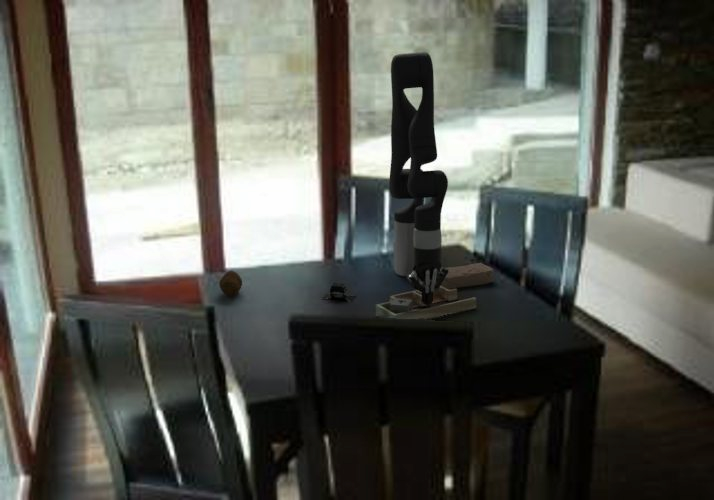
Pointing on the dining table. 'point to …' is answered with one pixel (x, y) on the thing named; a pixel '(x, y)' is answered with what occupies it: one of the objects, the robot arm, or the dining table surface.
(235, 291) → the potato
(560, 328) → the dining table surface
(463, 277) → the brick
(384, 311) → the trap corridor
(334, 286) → the black hat
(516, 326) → the dining table surface
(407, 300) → the dice cube
